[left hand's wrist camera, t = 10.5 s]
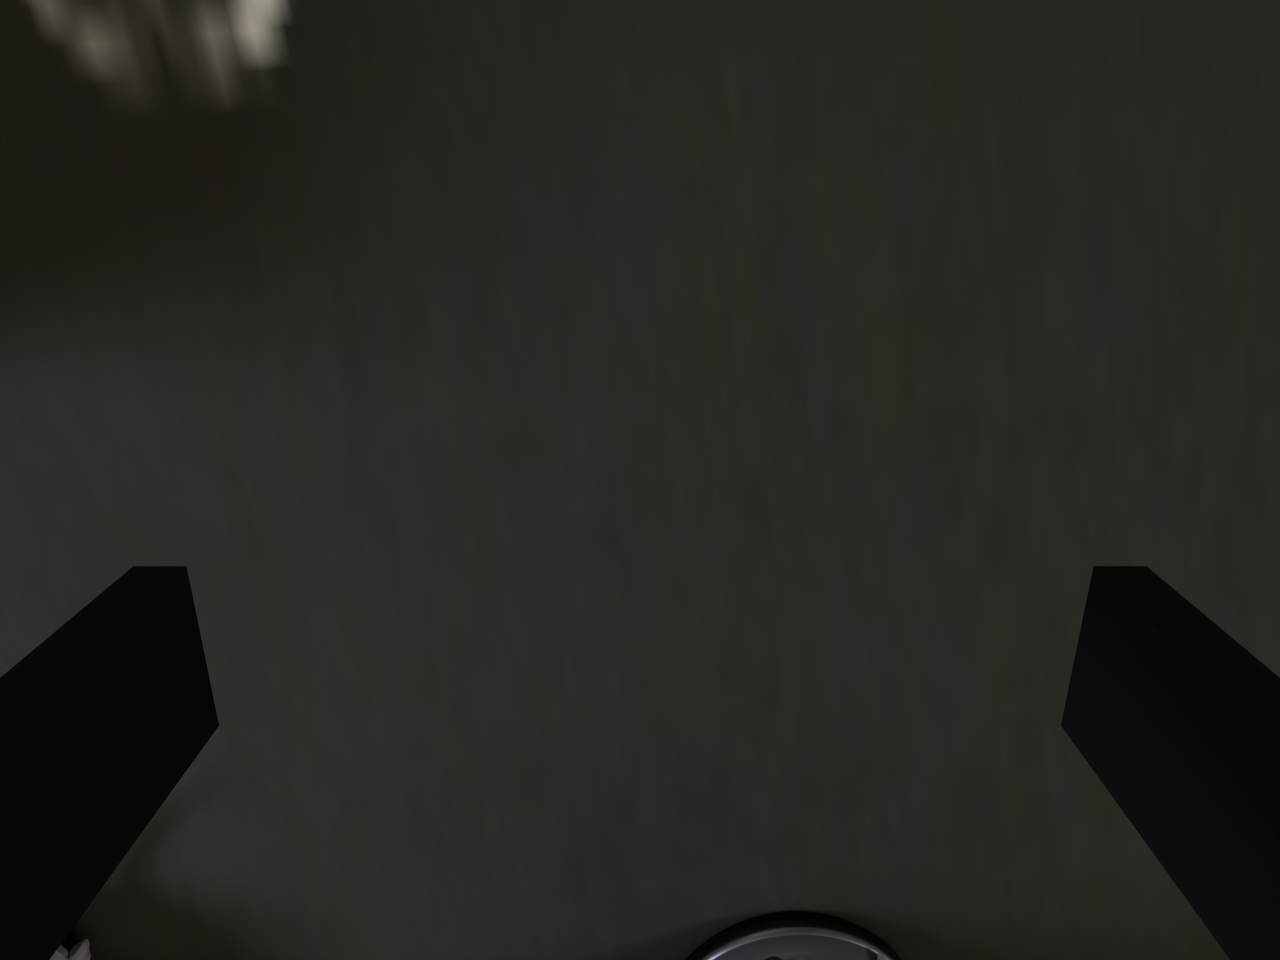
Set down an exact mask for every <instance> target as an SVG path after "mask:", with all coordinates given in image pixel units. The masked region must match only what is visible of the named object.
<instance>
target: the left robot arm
mask: <svg viewBox="0 0 1280 960" xmlns="http://www.w3.org/2000/svg"><path fill="white" fill-rule="evenodd" d="M218 726H219V723H218V719H217V714H216V709H215V704H214V699H213V694H212V689H211V684H210V679H209V674H208V670H207V665H206V660H205V655H204V650H203V645H202V640H201V635H200V630H199V626H198V621H197V616H196V611H195V606H194V601H193V596H192V591H191V586H190V582H189V577H188V572H187V567H186V566H133V567H132V568H131V569H130V570H129V571H127V572H126V573H125V574H124V575H123V576H121V577H120V578H119V579H118V580H117V581H115V582H114V583H113V584H112V585H111V586H109V587H108V588H107V589H106V590H105V591H103V592H102V593H101V594H100V595H99V596H98V597H96V598H95V599H94V600H93V601H92V602H90V603H89V604H88V605H87V606H86V607H84V608H83V609H82V610H81V611H80V612H78V613H77V614H76V615H75V616H74V617H72V618H71V619H70V620H69V621H68V622H66V623H65V624H64V625H63V626H62V627H60V628H59V629H58V630H57V631H56V632H54V633H53V634H52V635H51V636H50V637H49V638H47V639H46V640H45V641H44V642H43V643H41V644H40V645H39V646H38V647H37V648H35V649H34V650H33V651H32V652H31V653H29V654H28V655H27V656H26V657H25V658H23V659H22V660H21V661H20V662H19V663H17V664H16V665H15V666H14V667H13V668H11V669H10V670H9V671H8V672H7V673H6V674H4V675H3V676H2V677H1V678H0V960H50V959H51V957H52V956H53V954H54V953H55V952H56V950H57V949H58V948H59V946H60V945H61V943H62V942H63V941H64V939H65V938H66V936H67V935H68V934H69V932H70V931H71V930H72V928H73V927H74V925H75V924H76V923H77V921H78V920H79V918H80V917H81V916H82V914H83V913H84V912H85V910H86V909H87V907H88V906H89V905H90V903H91V902H92V900H93V899H94V898H95V896H96V895H97V894H98V892H99V891H100V889H101V888H102V887H103V885H104V884H105V882H106V881H107V880H108V878H109V877H110V876H111V874H112V873H113V871H114V870H115V869H116V867H117V866H118V864H119V863H120V862H121V860H122V859H123V858H124V856H125V855H126V853H127V852H128V851H129V849H130V848H131V846H132V845H133V844H134V842H135V841H136V840H137V838H138V837H139V835H140V834H141V833H142V831H143V830H144V828H145V827H146V826H147V824H148V823H149V822H150V820H151V819H152V817H153V816H154V815H155V813H156V812H157V810H158V809H159V808H160V806H161V805H162V804H163V802H164V801H165V799H166V798H167V797H168V795H169V794H170V792H171V791H172V790H173V788H174V787H175V786H176V784H177V783H178V781H179V780H180V779H181V777H182V776H183V774H184V773H185V772H186V770H187V769H188V768H189V766H190V765H191V763H192V762H193V761H194V759H195V758H196V756H197V755H198V754H199V752H200V751H201V750H202V748H203V747H204V745H205V744H206V743H207V741H208V740H209V738H210V737H211V736H212V734H213V733H214V732H215V730H216V729H217V727H218ZM1061 726H1062V727H1063V729H1064V730H1065V732H1066V733H1067V734H1068V736H1069V737H1070V738H1071V740H1072V741H1073V743H1074V744H1075V745H1076V747H1077V748H1078V750H1079V751H1080V752H1081V754H1082V755H1083V756H1084V758H1085V759H1086V761H1087V762H1088V763H1089V765H1090V766H1091V768H1092V769H1093V770H1094V772H1095V773H1096V774H1097V776H1098V777H1099V779H1100V780H1101V781H1102V783H1103V784H1104V786H1105V787H1106V788H1107V790H1108V791H1109V792H1110V794H1111V795H1112V797H1113V798H1114V799H1115V801H1116V802H1117V804H1118V805H1119V806H1120V808H1121V809H1122V810H1123V812H1124V813H1125V815H1126V816H1127V817H1128V819H1129V820H1130V822H1131V823H1132V824H1133V826H1134V827H1135V828H1136V830H1137V831H1138V833H1139V834H1140V835H1141V837H1142V838H1143V840H1144V841H1145V842H1146V844H1147V845H1148V846H1149V848H1150V849H1151V851H1152V852H1153V853H1154V855H1155V856H1156V858H1157V859H1158V860H1159V862H1160V863H1161V864H1162V866H1163V867H1164V869H1165V870H1166V871H1167V873H1168V874H1169V876H1170V877H1171V878H1172V880H1173V881H1174V882H1175V884H1176V885H1177V887H1178V888H1179V889H1180V891H1181V892H1182V894H1183V895H1184V896H1185V898H1186V899H1187V900H1188V902H1189V903H1190V905H1191V906H1192V907H1193V909H1194V910H1195V912H1196V913H1197V914H1198V916H1199V917H1200V918H1201V920H1202V921H1203V923H1204V924H1205V925H1206V927H1207V928H1208V930H1209V931H1210V932H1211V934H1212V935H1213V936H1214V938H1215V939H1216V941H1217V942H1218V943H1219V945H1220V946H1221V948H1222V949H1223V950H1224V952H1225V953H1226V954H1227V956H1228V957H1229V959H1230V960H1280V678H1279V677H1278V676H1277V675H1276V674H1274V673H1273V672H1272V671H1271V670H1270V669H1269V668H1267V667H1266V666H1265V665H1264V664H1263V663H1261V662H1260V661H1259V660H1258V659H1257V658H1255V657H1254V656H1253V655H1252V654H1251V653H1249V652H1248V651H1247V650H1246V649H1245V648H1243V647H1242V646H1241V645H1240V644H1239V643H1237V642H1236V641H1235V640H1234V639H1233V638H1231V637H1230V636H1229V635H1228V634H1227V633H1226V632H1224V631H1223V630H1222V629H1221V628H1220V627H1218V626H1217V625H1216V624H1215V623H1214V622H1212V621H1211V620H1210V619H1209V618H1208V617H1206V616H1205V615H1204V614H1203V613H1202V612H1200V611H1199V610H1198V609H1197V608H1196V607H1194V606H1193V605H1192V604H1191V603H1190V602H1188V601H1187V600H1186V599H1185V598H1184V597H1182V596H1181V595H1180V594H1179V593H1178V592H1177V591H1175V590H1174V589H1173V588H1172V587H1171V586H1169V585H1168V584H1167V583H1166V582H1165V581H1163V580H1162V579H1161V578H1160V577H1159V576H1157V575H1156V574H1155V573H1154V572H1153V571H1151V570H1150V569H1149V568H1148V567H1147V566H1094V567H1093V572H1092V577H1091V582H1090V586H1089V591H1088V596H1087V601H1086V606H1085V611H1084V616H1083V621H1082V626H1081V630H1080V635H1079V640H1078V645H1077V650H1076V655H1075V660H1074V665H1073V670H1072V674H1071V679H1070V684H1069V689H1068V694H1067V699H1066V704H1065V709H1064V714H1063V719H1062V723H1061ZM686 960H901V958H900V957H899V956H898V955H897V953H896V952H895V951H894V950H893V949H892V948H891V947H890V946H889V945H888V944H887V943H886V942H885V941H883V940H882V939H881V938H879V937H878V936H876V935H875V934H873V933H872V932H870V931H868V930H866V929H864V928H862V927H860V926H858V925H855V924H853V923H850V922H847V921H844V920H841V919H837V918H833V917H828V916H822V915H815V914H781V915H772V916H766V917H761V918H757V919H753V920H749V921H746V922H743V923H740V924H738V925H735V926H733V927H730V928H728V929H726V930H724V931H722V932H720V933H718V934H716V935H715V936H713V937H712V938H710V939H708V940H707V941H706V942H704V943H703V944H702V945H700V946H699V947H698V948H697V949H696V950H695V951H694V952H693V953H691V954H690V956H689V957H688V958H687V959H686Z"/></svg>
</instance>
